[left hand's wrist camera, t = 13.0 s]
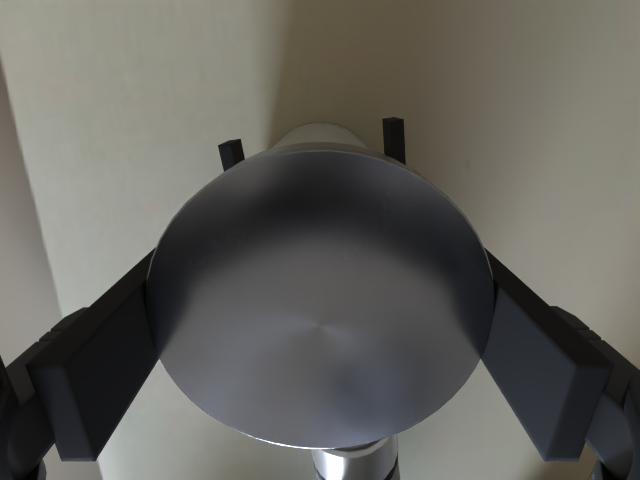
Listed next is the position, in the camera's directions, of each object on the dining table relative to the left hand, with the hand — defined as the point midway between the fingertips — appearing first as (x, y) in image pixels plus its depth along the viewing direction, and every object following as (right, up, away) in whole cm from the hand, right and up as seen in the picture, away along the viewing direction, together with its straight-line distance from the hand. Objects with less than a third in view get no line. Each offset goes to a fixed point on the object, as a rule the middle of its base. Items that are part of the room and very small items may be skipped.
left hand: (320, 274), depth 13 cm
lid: (0, -1, -3) cm, 3 cm away
